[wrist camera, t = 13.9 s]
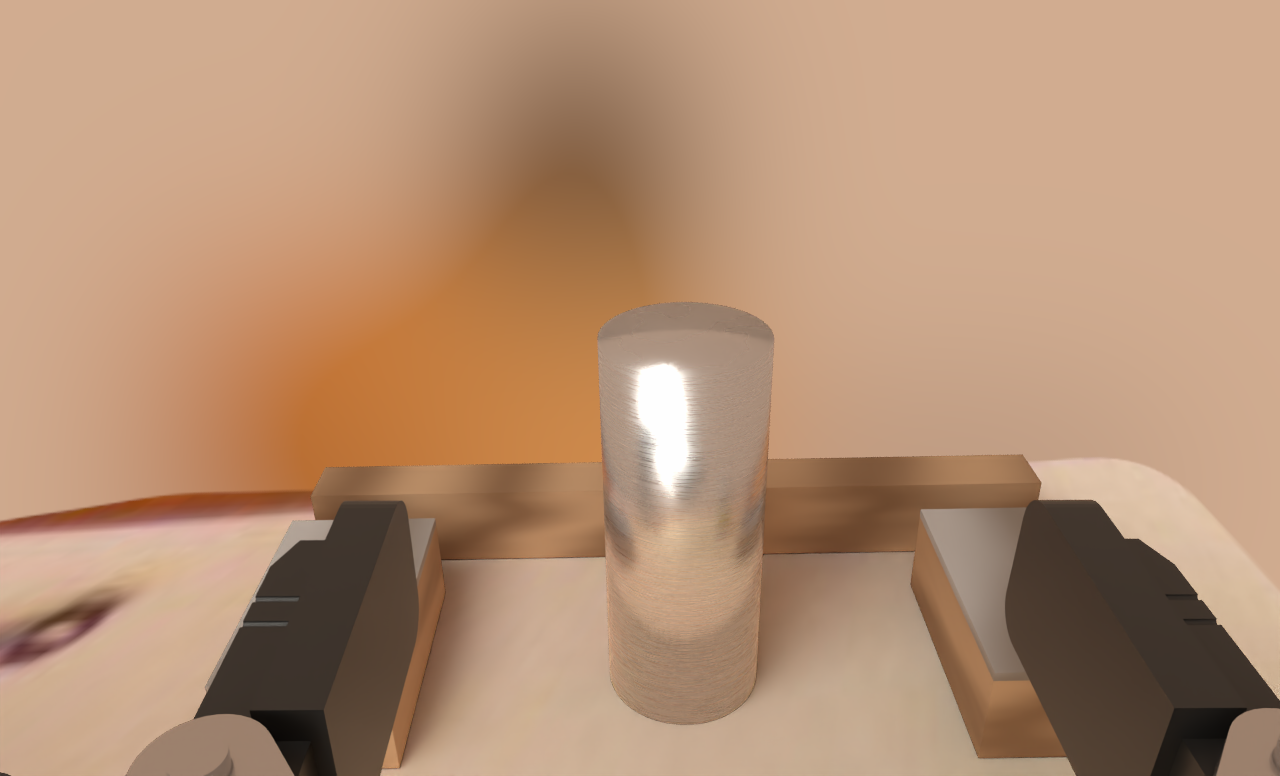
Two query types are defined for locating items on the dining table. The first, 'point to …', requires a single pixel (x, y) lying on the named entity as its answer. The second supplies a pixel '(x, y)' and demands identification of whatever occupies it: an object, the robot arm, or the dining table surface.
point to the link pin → (684, 504)
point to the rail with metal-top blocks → (794, 523)
